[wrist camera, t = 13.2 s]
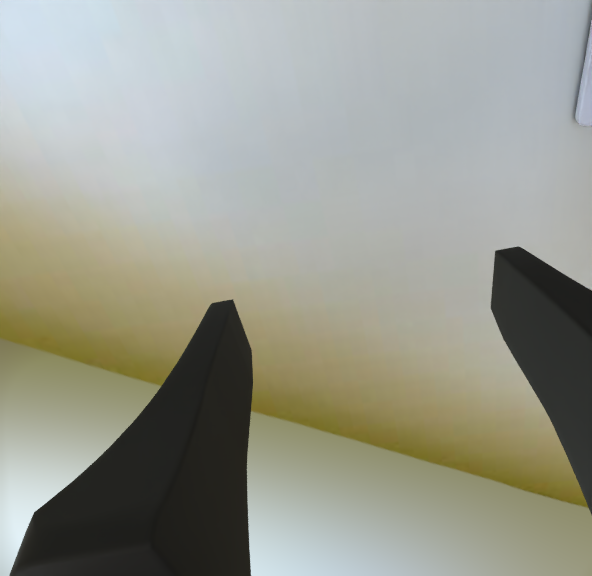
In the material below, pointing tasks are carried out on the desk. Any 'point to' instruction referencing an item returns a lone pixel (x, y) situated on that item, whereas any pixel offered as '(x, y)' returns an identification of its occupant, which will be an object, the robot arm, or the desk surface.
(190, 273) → the desk surface
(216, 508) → the robot arm
